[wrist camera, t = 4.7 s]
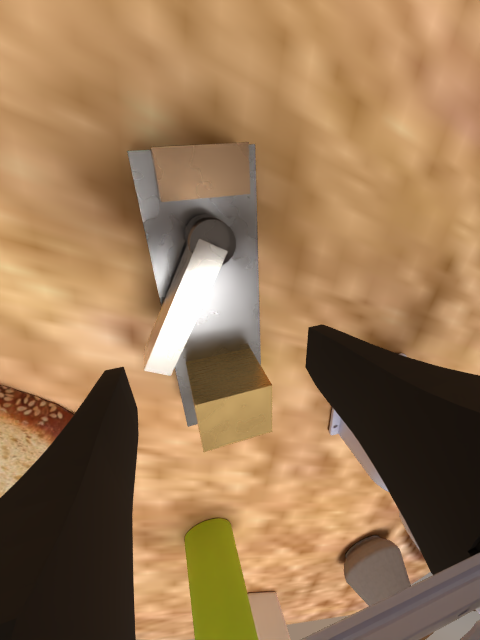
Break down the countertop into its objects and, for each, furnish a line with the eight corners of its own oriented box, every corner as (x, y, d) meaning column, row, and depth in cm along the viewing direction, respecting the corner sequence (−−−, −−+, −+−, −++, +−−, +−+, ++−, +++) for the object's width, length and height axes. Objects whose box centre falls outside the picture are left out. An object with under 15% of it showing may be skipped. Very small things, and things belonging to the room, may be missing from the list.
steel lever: (173, 355, 18) (176, 377, 16) (138, 347, 17) (137, 369, 15) (232, 225, 15) (244, 232, 13) (194, 206, 14) (201, 211, 12)
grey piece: (249, 382, 25) (271, 425, 21) (183, 399, 24) (191, 448, 20) (237, 147, 16) (270, 141, 12) (130, 153, 15) (124, 148, 11)
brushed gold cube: (252, 390, 21) (272, 431, 18) (193, 405, 20) (203, 452, 17) (250, 347, 19) (272, 385, 16) (185, 362, 18) (194, 405, 15)
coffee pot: (351, 567, 58) (408, 679, 45) (326, 559, 52) (385, 686, 39) (435, 506, 55) (521, 606, 43) (420, 491, 49) (514, 602, 37)
